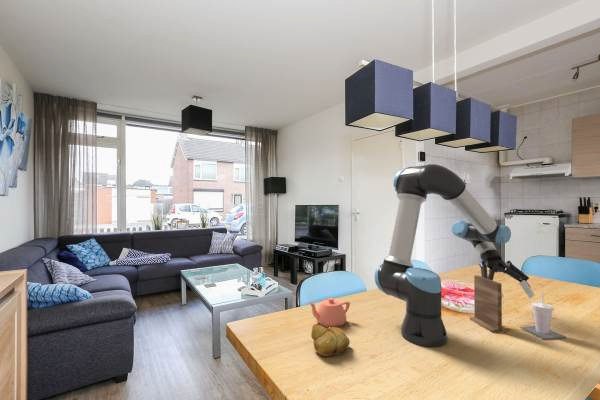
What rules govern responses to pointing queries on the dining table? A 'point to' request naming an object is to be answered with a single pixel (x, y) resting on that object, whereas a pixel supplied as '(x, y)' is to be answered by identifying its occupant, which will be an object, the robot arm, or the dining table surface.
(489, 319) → the screen
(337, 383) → the dining table surface
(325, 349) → the bread roll
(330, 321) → the teapot
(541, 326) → the smoothie
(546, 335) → the coaster
